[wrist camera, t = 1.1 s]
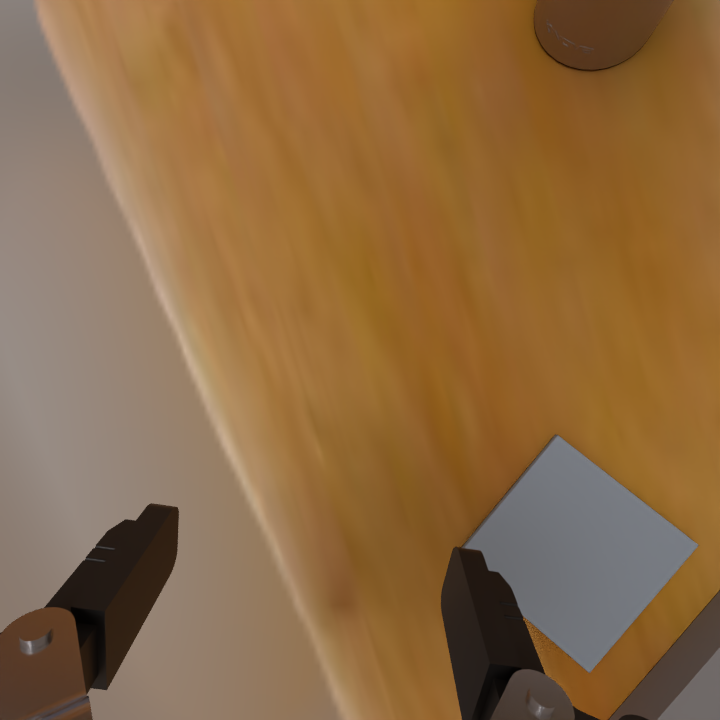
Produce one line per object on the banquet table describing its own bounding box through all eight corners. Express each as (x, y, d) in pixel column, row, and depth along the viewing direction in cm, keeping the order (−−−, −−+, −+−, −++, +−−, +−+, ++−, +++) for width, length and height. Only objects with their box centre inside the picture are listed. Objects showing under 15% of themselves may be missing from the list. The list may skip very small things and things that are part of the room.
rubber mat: (555, 434, 34) (557, 435, 33) (693, 542, 32) (698, 545, 32) (455, 554, 34) (456, 557, 34) (586, 667, 33) (589, 673, 32)
